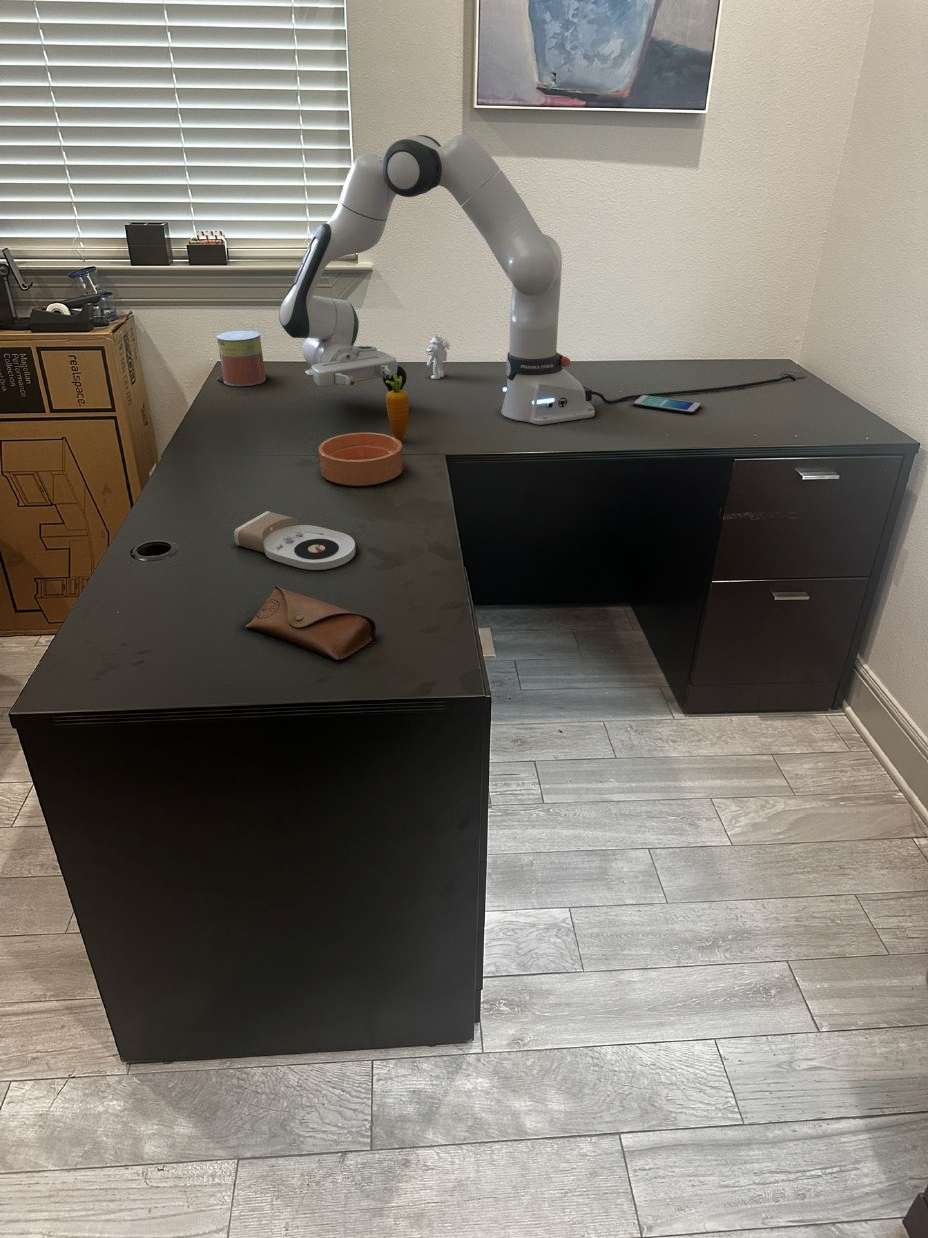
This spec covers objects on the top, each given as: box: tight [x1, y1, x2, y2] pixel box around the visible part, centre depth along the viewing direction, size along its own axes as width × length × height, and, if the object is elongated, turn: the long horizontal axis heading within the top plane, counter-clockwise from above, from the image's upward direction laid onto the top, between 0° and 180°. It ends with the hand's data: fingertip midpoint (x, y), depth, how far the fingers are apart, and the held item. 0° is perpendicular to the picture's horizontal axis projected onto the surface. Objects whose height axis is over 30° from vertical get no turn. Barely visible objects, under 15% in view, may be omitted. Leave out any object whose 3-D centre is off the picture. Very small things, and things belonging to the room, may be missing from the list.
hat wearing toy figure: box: [425, 334, 451, 380], centre depth 226 cm, size 9×4×12 cm, turn 148°
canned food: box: [216, 329, 267, 387], centre depth 224 cm, size 11×11×12 cm
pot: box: [318, 432, 404, 487], centre depth 168 cm, size 17×17×6 cm
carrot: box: [385, 373, 409, 442], centre depth 181 cm, size 5×5×15 cm
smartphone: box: [633, 395, 702, 415], centre depth 205 cm, size 8×1×15 cm
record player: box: [233, 510, 356, 571], centre depth 140 cm, size 12×3×20 cm
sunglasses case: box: [244, 585, 377, 661], centre depth 118 cm, size 18×7×7 cm
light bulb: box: [382, 364, 408, 392], centre depth 204 cm, size 6×6×10 cm
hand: (370, 378), depth 187 cm, fingers open, 8 cm apart
